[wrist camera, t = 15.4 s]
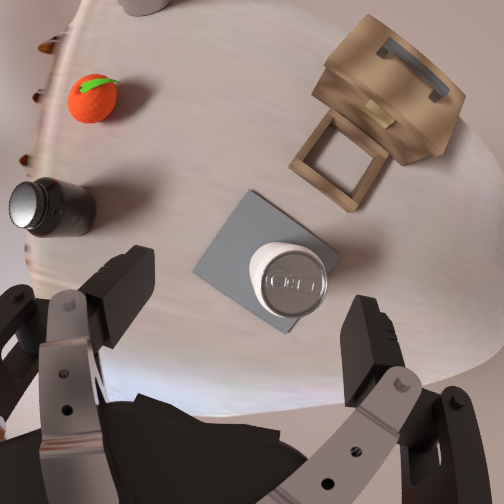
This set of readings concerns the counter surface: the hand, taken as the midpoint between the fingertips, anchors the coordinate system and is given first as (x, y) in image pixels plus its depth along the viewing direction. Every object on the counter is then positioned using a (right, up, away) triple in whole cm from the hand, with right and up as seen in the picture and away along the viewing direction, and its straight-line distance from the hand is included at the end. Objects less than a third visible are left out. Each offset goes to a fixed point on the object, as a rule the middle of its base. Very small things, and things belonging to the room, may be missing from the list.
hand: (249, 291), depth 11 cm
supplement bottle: (-24, +7, +24) cm, 34 cm away
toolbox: (+15, +18, +25) cm, 34 cm away
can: (+3, -1, +25) cm, 25 cm away
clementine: (-20, +22, +23) cm, 38 cm away
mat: (+2, 0, +25) cm, 25 cm away
